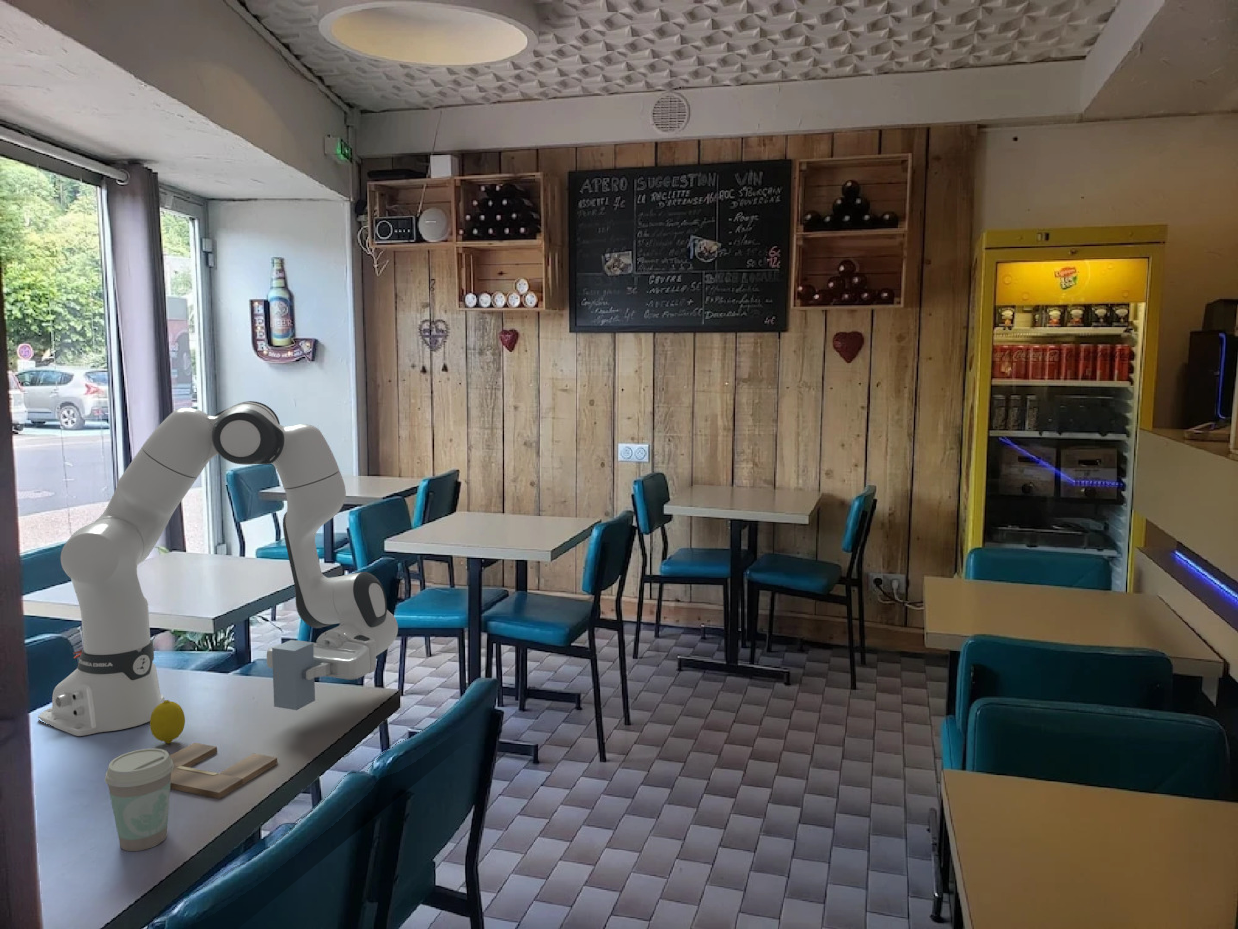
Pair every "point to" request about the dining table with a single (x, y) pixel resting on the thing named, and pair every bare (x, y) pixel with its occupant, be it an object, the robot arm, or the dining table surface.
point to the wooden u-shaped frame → (212, 781)
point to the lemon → (167, 721)
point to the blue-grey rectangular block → (292, 674)
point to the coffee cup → (140, 797)
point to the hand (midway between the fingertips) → (290, 673)
